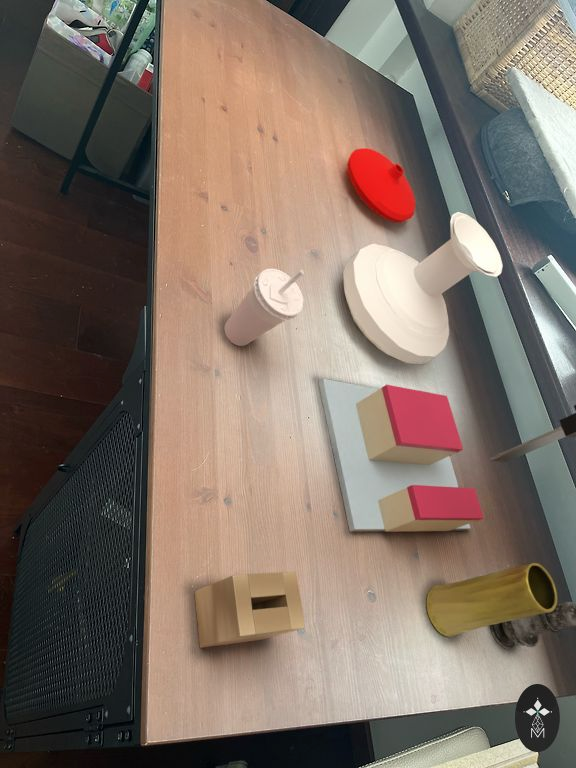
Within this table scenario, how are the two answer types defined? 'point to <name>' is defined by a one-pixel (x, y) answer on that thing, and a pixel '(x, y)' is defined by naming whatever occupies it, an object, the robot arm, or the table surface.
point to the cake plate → (369, 461)
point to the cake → (408, 426)
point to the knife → (540, 440)
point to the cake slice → (430, 508)
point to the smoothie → (265, 306)
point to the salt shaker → (534, 626)
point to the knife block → (248, 608)
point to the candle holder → (414, 290)
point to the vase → (491, 599)
